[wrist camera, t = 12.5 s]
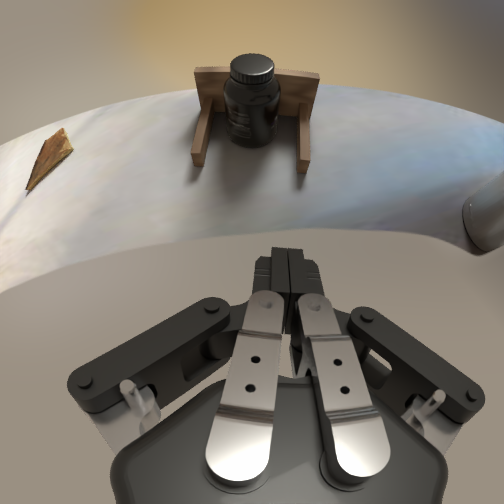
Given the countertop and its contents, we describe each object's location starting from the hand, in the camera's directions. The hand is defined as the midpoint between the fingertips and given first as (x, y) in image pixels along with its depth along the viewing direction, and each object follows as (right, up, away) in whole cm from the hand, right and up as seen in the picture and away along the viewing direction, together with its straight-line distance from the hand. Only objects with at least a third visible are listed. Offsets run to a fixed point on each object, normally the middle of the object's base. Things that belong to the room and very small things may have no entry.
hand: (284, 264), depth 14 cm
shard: (-34, +16, +23) cm, 44 cm away
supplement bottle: (-2, +17, +23) cm, 29 cm away
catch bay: (-1, +16, +23) cm, 28 cm away
